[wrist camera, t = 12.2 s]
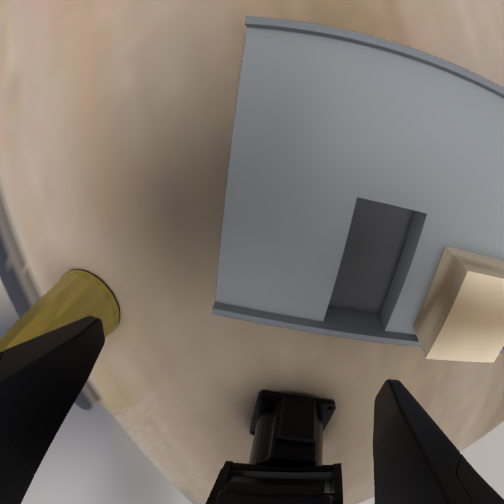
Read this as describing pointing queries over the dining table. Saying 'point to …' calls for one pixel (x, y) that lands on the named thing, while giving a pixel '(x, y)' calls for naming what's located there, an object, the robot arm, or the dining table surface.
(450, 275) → the beech block
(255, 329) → the dining table surface
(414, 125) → the box
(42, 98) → the dining table surface
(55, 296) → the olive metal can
